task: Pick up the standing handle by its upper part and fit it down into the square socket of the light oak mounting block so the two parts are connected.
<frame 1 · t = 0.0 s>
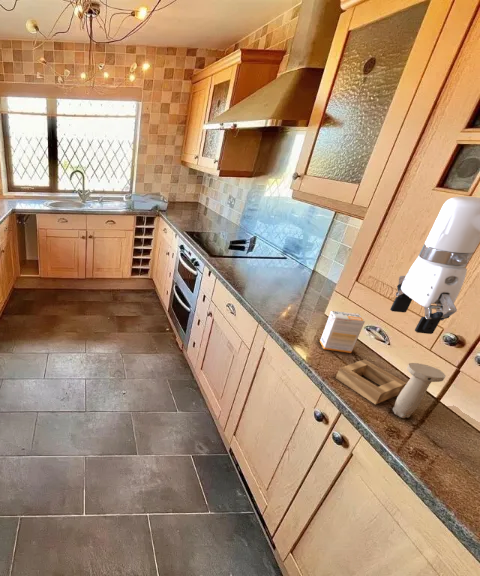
hand: (409, 321, 75), 25 cm above the countertop, tool pointing down, fingers open, 9 cm apart
supplement box: (334, 347, 107), on the countertop
handle: (399, 414, 81), on the countertop
socket block: (367, 385, 90), on the countertop
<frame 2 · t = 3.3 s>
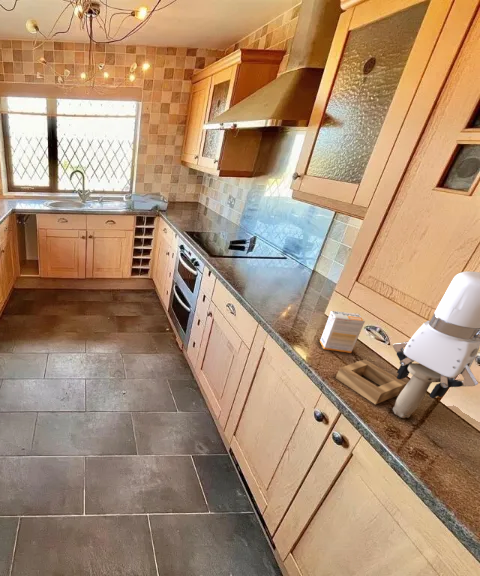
hand: (417, 386, 76), 10 cm above the countertop, tool pointing down, fingers closed on handle, 6 cm apart
handle: (399, 414, 81), on the countertop, touching gripper
everything else where it was.
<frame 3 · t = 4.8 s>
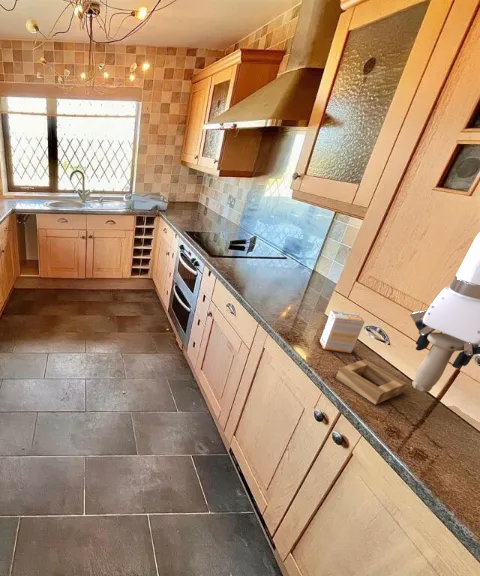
hand: (438, 356, 72), 19 cm above the countertop, tool pointing down, fingers closed on handle, 6 cm apart
handle: (419, 388, 77), point 9 cm above the countertop, touching gripper
everything else where it was.
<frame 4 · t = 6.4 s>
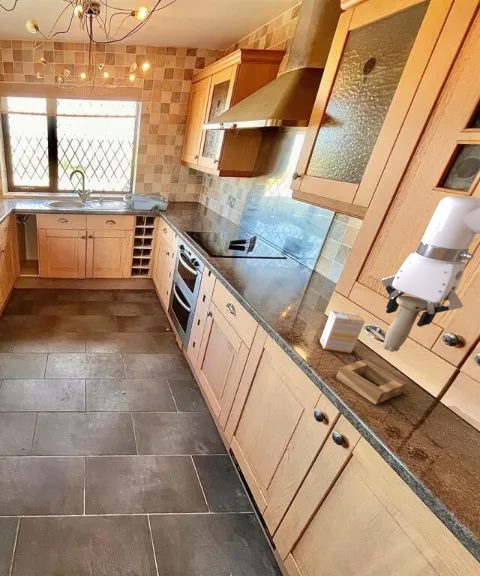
hand: (405, 317, 79), 24 cm above the countertop, tool pointing down, fingers closed on handle, 6 cm apart
handle: (389, 349, 83), point 14 cm above the countertop, touching gripper
everything else where it was.
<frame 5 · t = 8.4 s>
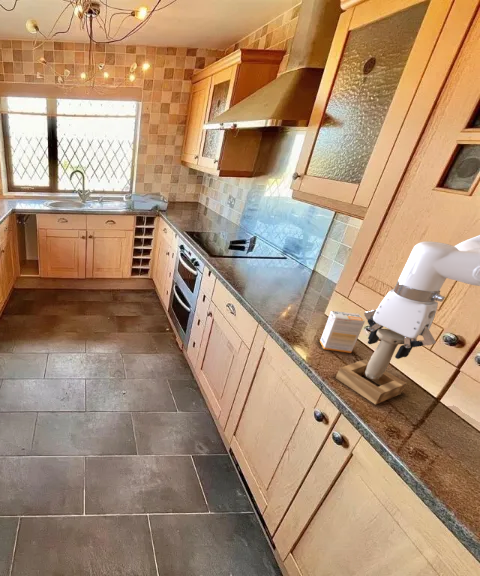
hand: (385, 349, 84), 13 cm above the countertop, tool pointing down, fingers closed on handle, 6 cm apart
handle: (371, 377, 89), point 3 cm above the countertop, touching gripper
everything else where it was.
when the fingers open (10 cm above the countertop, at t = 9.9 s): handle stays where it is, resting in socket block.
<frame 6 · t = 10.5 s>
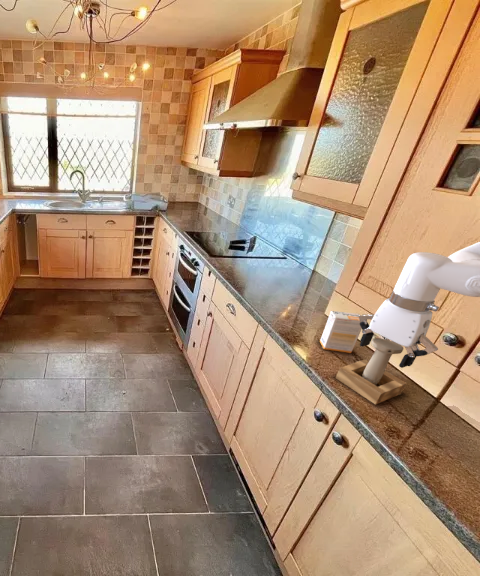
hand: (383, 355, 85), 11 cm above the countertop, tool pointing down, fingers open, 9 cm apart
handle: (366, 385, 90), resting in socket block
everything else where it was.
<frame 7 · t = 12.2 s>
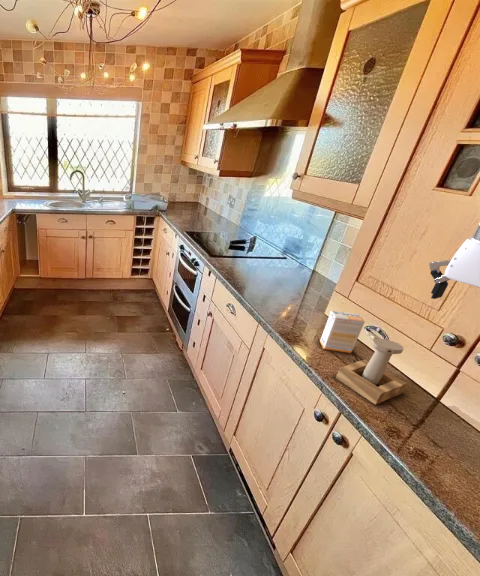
hand: (462, 306, 73), 29 cm above the countertop, tool pointing down, fingers open, 9 cm apart
nothing on the countertop moved.
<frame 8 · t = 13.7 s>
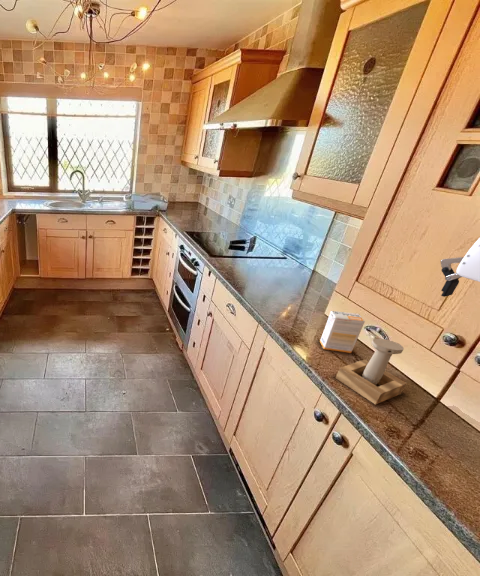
hand: (473, 304, 72), 30 cm above the countertop, tool pointing down, fingers open, 9 cm apart
nothing on the countertop moved.
at the end: handle 0.1 cm off-centre in the socket block, point 0.0 cm above the socket block's base; handle tilted 0°; the gripper is holding nothing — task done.
